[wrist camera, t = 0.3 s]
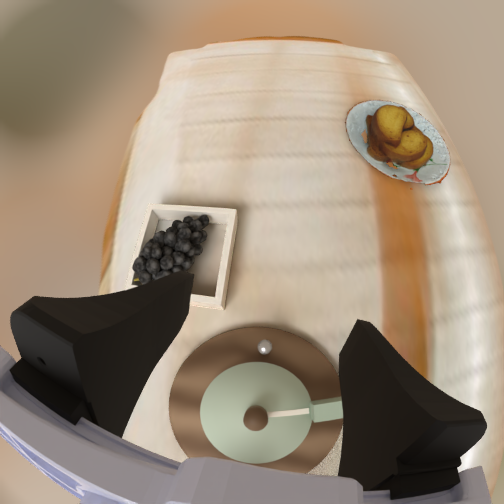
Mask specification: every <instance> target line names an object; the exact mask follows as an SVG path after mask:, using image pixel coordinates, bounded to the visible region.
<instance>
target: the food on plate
mask: <svg viewBox="0 0 504 504" xmlns="http://www.w3.org/2000/svg"><path fill="white" fill-rule="evenodd" d="M345 123H346V132H348V134H349V141H351V143H352V145H353V146H354V147H355V149H356V151H357V152H359V153H360V154H361V155H362V156H363V157H364V158H365V159H366V160H367V162H369V163H370V164H371V165H372V167H374V168H375V169H378V170H379V171H380V172H382V173H383V174H384V175H387V176H389V177H390V178H396V179H401V180H404V181H410V182H415V183H425V185H431V184H435V183H436V182H437V183H441V181H442V180H443V179H444V178H445V177H446V175H447V173H448V171H449V167H450V155H449V150H448V148H447V146H446V143H445V141H444V139H443V138H442V136H441V135H440V134H439V132H438V131H437V130H436V129H435V127H434V126H433V125H432V124H431V123H430V122H429V121H428V120H426V119H425V118H424V117H423V116H422V115H421V114H419V113H417V112H415V111H414V110H412V109H408V108H407V107H405V106H403V105H401V104H398V103H395V102H391V101H383V100H369V101H365V102H361V103H359V104H357V105H355V106H354V107H352V109H350V110H349V112H348V114H347V118H346V122H345ZM364 129H366V133H367V137H368V139H367V143H364V140H363V137H362V136H361V133H362V132H364ZM388 162H392V163H393V165H394V166H396V167H397V168H399V169H393V167H389V166H388V165H387V164H386V163H388ZM394 174H395V175H396V176H397V177H394V176H392V175H394ZM411 189H412V188H411Z"/></svg>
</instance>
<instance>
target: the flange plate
mask: <svg viewBox="0 0 504 504" xmlns="http://www.w3.org/2000/svg"><path fill="white" fill-rule="evenodd" d="M254 405H258V406H261V407H263V408H264V409H265V410H266V411H267V414H268V423H267V425H266V427H265V428H264V429H262V430H260V431H252V430H249V429H248V428H246V426H245V425H244V422H243V417H244V414H245V412H246V410H247V409H248V408H249V407H251V406H254ZM200 418H201V424H202V427H203V430H204V432H205V434H206V436H207V438H208V439H209V441H210V442H211V443H212V444H213V446H214V447H215V448H216V449H218V450H219V451H220V452H221V453H223V454H224V455H226V456H228V457H230V458H232V459H234V460H237V461H241V462H245V463H254V464H260V463H268V462H272V461H275V460H278V459H281V458H283V457H285V456H287V455H288V454H290V453H291V452H293V451H294V450H295V449H296V448H297V447H298V446H299V445H300V444H301V443H302V442H303V440H304V439H305V437H306V436H307V434H308V432H309V429H310V426H311V423H312V420H313V421H314V423H315V422H322V421H329V420H335V419H340V418H343V409H342V399H341V397H335V398H329V399H322V400H315V401H311V399H310V396H309V394H308V391H307V390H306V388H305V386H304V385H303V384H302V382H301V381H300V380H299V379H298V378H297V377H296V376H295V375H294V374H292V373H291V372H289V371H288V370H286V369H284V368H282V367H280V366H277V365H274V364H270V363H264V362H249V363H243V364H239V365H236V366H233V367H231V368H229V369H227V370H225V371H224V372H222V373H221V374H219V375H218V376H217V377H216V378H215V379H214V380H213V381H212V382H211V383H210V385H209V386H208V388H207V389H206V391H205V393H204V395H203V398H202V401H201V407H200Z"/></svg>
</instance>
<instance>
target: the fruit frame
mask: <svg viewBox="0 0 504 504" xmlns="http://www.w3.org/2000/svg"><path fill="white" fill-rule="evenodd" d="M201 215H207V216H208V218H209V223H215V224H227V228H226V234H225V239H224V245H223V251H222V257H221V263H220V269H219V275H218V281H217V287H216V293H215V297H210V296H202V295H195V294H191V298H190V305H192V306H199V307H206V308H213V309H221V310H224V308H225V301H226V295H227V288H228V281H229V275H230V268H231V262H232V255H233V249H234V243H235V236H236V230H237V224H238V216H237V210H236V209H228V208H215V207H200V206H184V205H165V204H148V207H147V210H146V213H145V216H144V219H143V223H142V226H141V229H140V233H139V236H138V239H137V243H136V246H135V250H134V254H133V257H132V261H131V265H130V269H129V273H128V277H127V281H126V285H125V290H128V289H131V288H134V287H137V286H140V285H142V283H141V282H140V281H134V279H136V278H138V276H139V275H138V274H137V273H136V272H134V271H133V269H132V266H133V264H134V261H135V259H136V258H137V257H139V253H140V252H141V251H142V249H143V248H144V245H145V244H146V243H147V242H148V241H149V239H152V238H153V236H154V234H155V230H156V227H157V223H158V220H159V219H162V220H180V221H183V219H184V217H186V216H191V217H193V219H194V220H196V219H197V218H198V217H200V216H201Z"/></svg>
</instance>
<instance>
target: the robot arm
mask: <svg viewBox="0 0 504 504" xmlns="http://www.w3.org/2000/svg"><path fill="white" fill-rule="evenodd" d="M193 278H194V274H191V273H188V272H185V271H181V270H180V271H177V272H174V273H172V274H169V275H167V276H164V277H162V278H159V279H157V280H154V281H151V282H149V283H146V284H143V285H140V286H137V287H134V288H131V289H128V290H124V291H120V292H116V293H111V294H106V295H99V296H91V297H81V298H52V297H40V296H34V297H32V298H31V299H30V300H28V301H27V302H26V303H24V304H23V305H22V306H20V307H19V308H17V309H16V310H15V311H13V312H12V314H11V317H10V318H11V319H10V323H11V329H12V333H13V335H14V339H15V341H16V344H17V347H18V350H19V352H20V355H21V357H22V358H21V359H20V360H19V361H18V362H17V363H16V361H15V360H14V358H13V357H12V356H11V355H10V354H9V353H8V352H7V351H5V350H4V349H3V348H2V347H1V346H0V435H1V436H2V437H3V438H4V439H5V440H6V441H7V442H8V443H9V444H10V445H11V446H12V447H13V448H14V449H15V450H16V451H18V452H19V453H20V454H21V455H22V456H23V457H24V458H25V459H27V460H28V461H29V462H30V463H31V464H33V465H34V466H35V467H36V468H37V469H39V470H40V471H41V472H42V473H44V474H45V475H46V476H47V477H49V478H50V479H52V480H53V481H54V482H56V483H57V484H58V485H60V486H61V487H63V488H64V489H66V490H67V491H68V492H70V493H71V494H73V495H75V496H76V497H78V498H79V499H81V501H80V503H79V504H492V503H491V498H490V494H489V490H488V486H487V483H486V479H485V475H484V472H483V469H482V466H478V467H474V468H470V469H466V470H464V471H462V472H460V473H458V470H457V467H459V466H460V465H461V459H460V457H461V456H462V455H463V454H465V453H466V452H467V451H468V450H469V449H470V448H472V447H473V446H474V445H475V444H476V443H477V442H478V441H479V440H480V439H481V438H482V436H483V435H484V433H485V431H486V429H487V423H486V421H485V419H484V416H483V414H482V413H481V411H479V410H477V409H474V408H472V407H470V406H468V405H465V404H463V403H461V402H459V401H458V400H456V399H454V398H452V397H451V396H449V395H447V394H446V393H444V392H443V391H441V390H440V389H438V388H437V387H436V386H434V385H433V384H431V383H430V382H429V381H428V380H426V379H425V378H424V377H423V376H422V375H420V374H419V373H418V372H417V371H416V370H415V369H414V368H413V367H412V366H411V365H410V364H409V363H408V362H407V361H406V360H405V359H404V358H403V357H402V356H401V355H400V354H399V353H398V352H397V351H396V350H395V349H394V347H393V346H392V345H391V344H390V343H389V342H388V341H387V340H386V338H385V337H384V336H383V335H382V334H381V333H380V332H379V331H378V330H377V328H376V327H375V326H374V325H372V324H371V323H370V322H367V321H363V320H359V319H357V321H356V323H355V325H354V327H353V329H352V331H351V333H350V335H349V337H348V339H347V341H346V343H345V344H344V346H343V348H342V350H341V352H340V354H339V381H340V390H341V399H342V409H343V440H342V450H341V459H340V466H339V472H338V476H328V475H315V474H305V473H297V472H289V471H282V470H276V469H270V468H265V467H259V466H254V465H250V464H245V463H241V462H236V461H232V460H226V459H220V458H214V457H192V458H188V459H186V460H185V461H184V462H182V463H180V462H177V461H174V460H171V459H169V458H166V457H163V456H161V455H158V454H156V453H153V452H151V451H149V450H146V449H144V448H142V447H139V446H137V445H135V444H133V443H130V442H128V441H126V440H124V439H122V436H123V433H124V431H125V428H126V426H127V423H128V421H129V419H130V416H131V414H132V412H133V409H134V407H135V405H136V403H137V401H138V399H139V397H140V394H141V392H142V390H143V388H144V386H145V384H146V382H147V380H148V378H149V376H150V375H151V373H152V371H153V369H154V368H155V366H156V365H157V363H158V362H159V360H160V359H161V357H162V356H163V354H164V353H165V352H166V350H167V349H168V347H169V346H170V344H171V343H172V341H173V340H174V339H175V337H176V336H177V334H178V333H179V331H180V329H181V327H182V325H183V323H184V321H185V319H186V317H187V315H188V313H189V305H190V298H191V291H192V284H193Z"/></svg>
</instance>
